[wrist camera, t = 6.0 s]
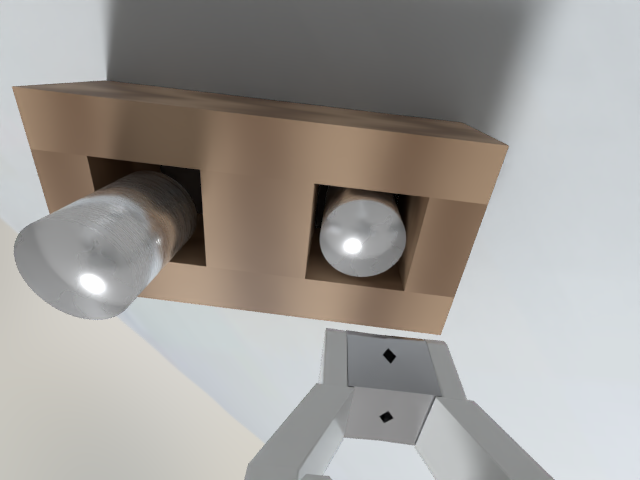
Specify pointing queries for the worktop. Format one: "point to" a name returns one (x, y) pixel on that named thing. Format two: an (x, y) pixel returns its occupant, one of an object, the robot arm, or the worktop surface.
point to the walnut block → (275, 193)
